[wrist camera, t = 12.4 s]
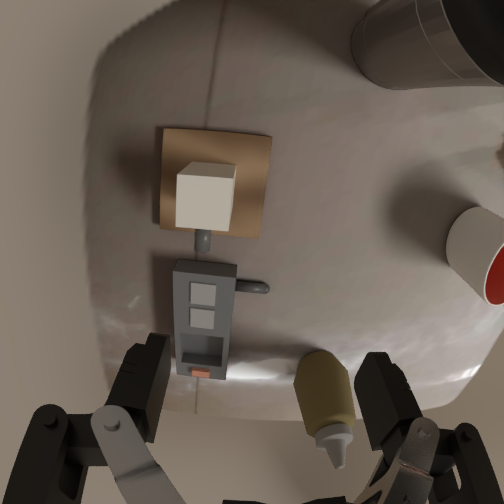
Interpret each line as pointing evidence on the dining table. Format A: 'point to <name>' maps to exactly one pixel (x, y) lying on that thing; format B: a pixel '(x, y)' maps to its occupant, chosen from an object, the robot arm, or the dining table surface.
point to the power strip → (205, 315)
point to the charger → (205, 200)
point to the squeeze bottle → (326, 403)
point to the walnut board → (223, 152)
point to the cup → (479, 252)
